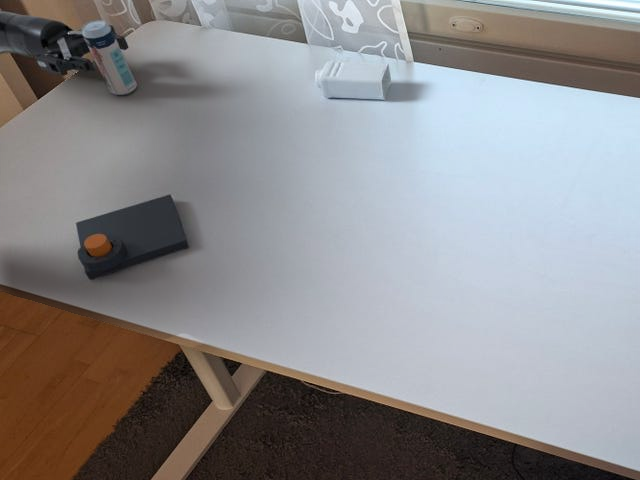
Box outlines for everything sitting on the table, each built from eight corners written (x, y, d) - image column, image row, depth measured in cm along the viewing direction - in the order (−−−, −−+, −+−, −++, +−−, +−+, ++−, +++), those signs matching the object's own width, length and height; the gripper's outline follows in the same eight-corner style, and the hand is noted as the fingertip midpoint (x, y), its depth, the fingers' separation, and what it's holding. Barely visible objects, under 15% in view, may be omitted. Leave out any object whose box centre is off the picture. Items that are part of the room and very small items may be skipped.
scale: (90, 283, 95) (79, 268, 92) (80, 229, 102) (70, 214, 100) (190, 251, 98) (183, 235, 96) (173, 201, 106) (166, 185, 103)
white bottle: (324, 80, 126) (319, 58, 123) (391, 82, 125) (388, 60, 122) (314, 99, 123) (309, 77, 119) (384, 102, 121) (380, 80, 118)
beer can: (113, 84, 128) (82, 20, 118) (139, 81, 128) (110, 17, 119) (109, 98, 125) (77, 33, 115) (136, 95, 125) (105, 30, 116)
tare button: (91, 260, 94) (85, 250, 93) (88, 247, 96) (82, 237, 94) (113, 253, 95) (107, 243, 93) (110, 240, 96) (104, 231, 95)
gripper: (-1, 37, 118) (69, 53, 114) (59, 2, 126) (127, 15, 122) (23, 77, 124) (90, 94, 120) (79, 41, 132) (144, 56, 128)
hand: (109, 54), depth 121 cm, fingers open, 8 cm apart
